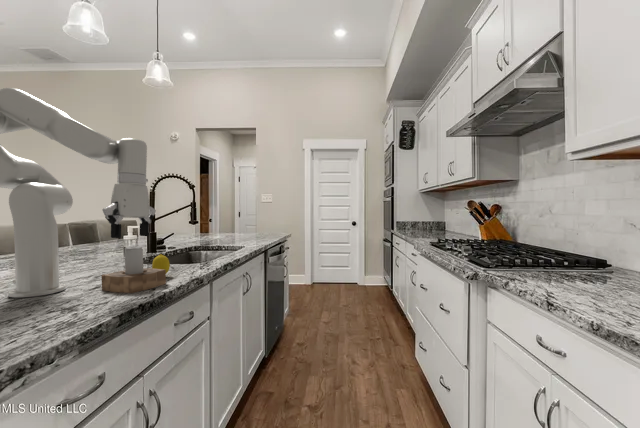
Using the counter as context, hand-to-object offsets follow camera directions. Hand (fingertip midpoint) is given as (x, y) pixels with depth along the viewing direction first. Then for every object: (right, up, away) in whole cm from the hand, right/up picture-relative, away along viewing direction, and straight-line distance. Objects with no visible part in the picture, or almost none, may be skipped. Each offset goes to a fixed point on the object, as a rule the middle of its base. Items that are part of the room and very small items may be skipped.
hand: (130, 236), depth 98 cm
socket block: (+1, -15, 0) cm, 15 cm away
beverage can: (+1, -16, 0) cm, 15 cm away
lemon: (+2, -15, +15) cm, 21 cm away
